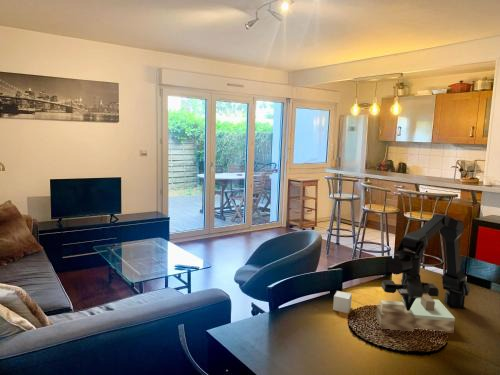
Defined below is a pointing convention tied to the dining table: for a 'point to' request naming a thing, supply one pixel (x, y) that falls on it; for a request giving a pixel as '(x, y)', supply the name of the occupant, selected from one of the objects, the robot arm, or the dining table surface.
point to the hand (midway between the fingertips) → (407, 310)
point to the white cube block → (342, 302)
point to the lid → (430, 309)
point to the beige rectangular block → (392, 306)
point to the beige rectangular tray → (410, 322)
